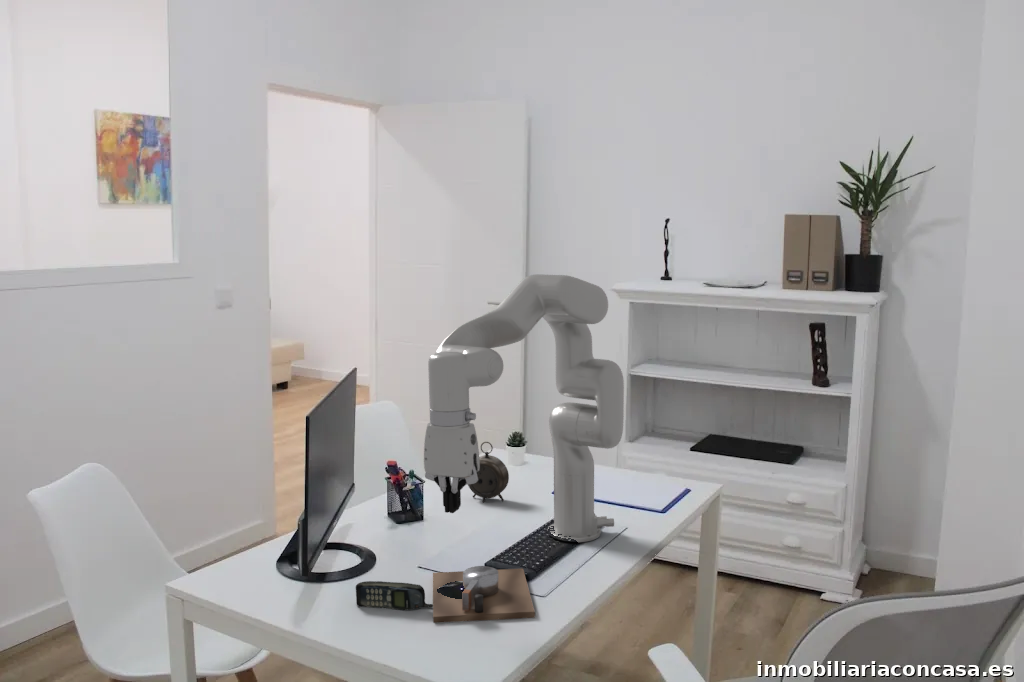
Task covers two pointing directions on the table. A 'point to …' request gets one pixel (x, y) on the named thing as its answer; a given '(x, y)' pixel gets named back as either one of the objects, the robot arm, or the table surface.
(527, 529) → the table surface
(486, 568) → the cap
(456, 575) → the plinth
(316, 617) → the table surface
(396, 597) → the mobile phone
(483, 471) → the alarm clock
